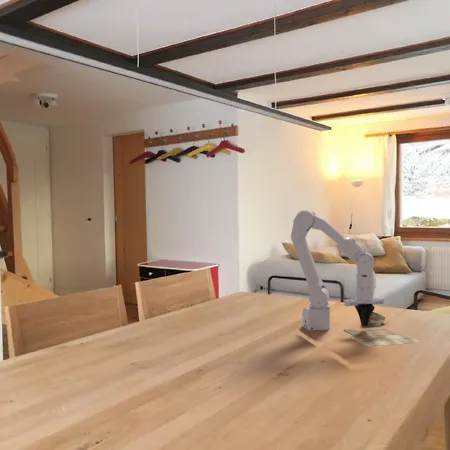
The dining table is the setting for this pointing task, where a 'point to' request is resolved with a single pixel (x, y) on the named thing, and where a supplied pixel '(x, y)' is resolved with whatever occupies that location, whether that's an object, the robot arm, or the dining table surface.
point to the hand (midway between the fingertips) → (364, 325)
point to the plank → (369, 332)
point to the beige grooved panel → (385, 340)
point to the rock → (376, 320)
